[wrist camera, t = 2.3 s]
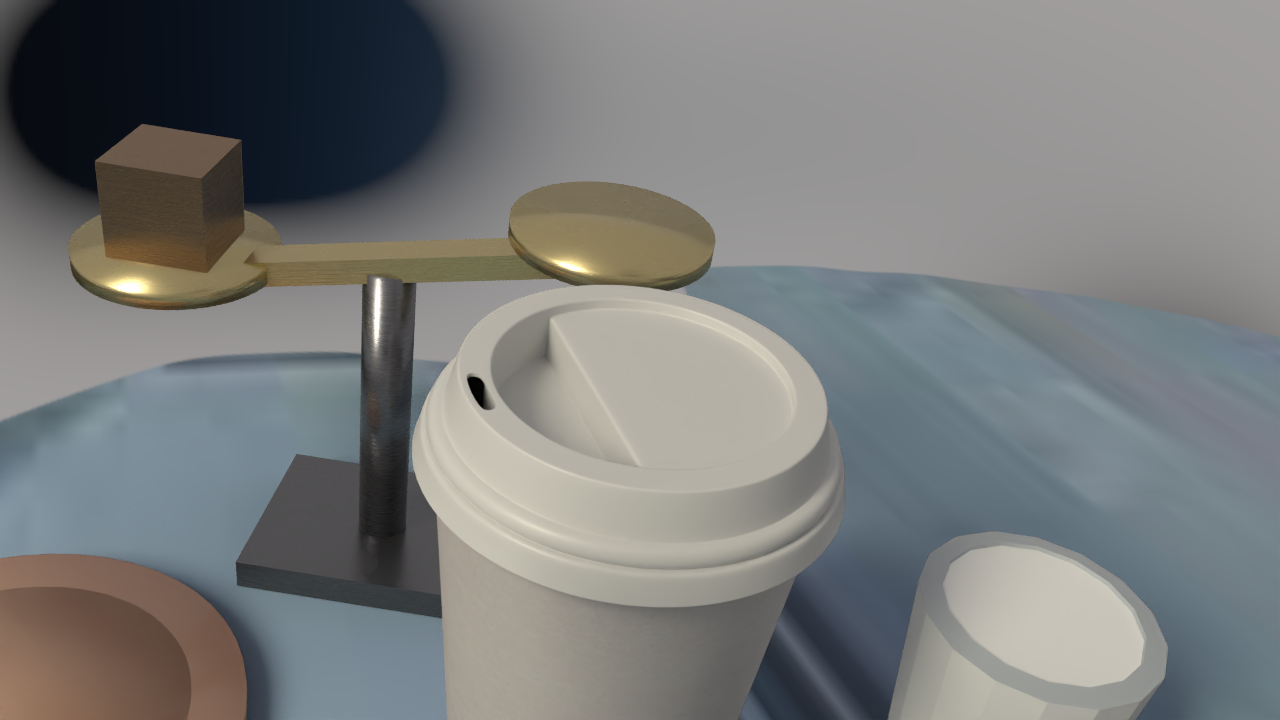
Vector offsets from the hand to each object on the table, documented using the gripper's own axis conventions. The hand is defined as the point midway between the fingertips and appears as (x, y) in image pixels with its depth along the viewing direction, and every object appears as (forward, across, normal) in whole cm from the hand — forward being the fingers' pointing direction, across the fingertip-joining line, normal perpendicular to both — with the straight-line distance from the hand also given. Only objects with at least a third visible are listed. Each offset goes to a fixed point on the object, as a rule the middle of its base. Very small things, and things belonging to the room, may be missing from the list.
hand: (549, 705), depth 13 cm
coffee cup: (+13, +1, -19) cm, 22 cm away
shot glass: (+17, +13, -18) cm, 28 cm away
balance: (+23, -7, -18) cm, 30 cm away
